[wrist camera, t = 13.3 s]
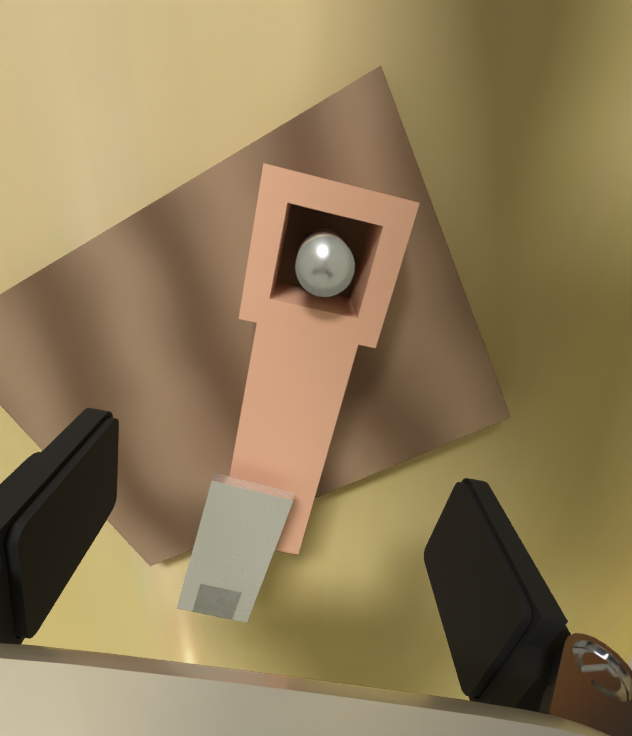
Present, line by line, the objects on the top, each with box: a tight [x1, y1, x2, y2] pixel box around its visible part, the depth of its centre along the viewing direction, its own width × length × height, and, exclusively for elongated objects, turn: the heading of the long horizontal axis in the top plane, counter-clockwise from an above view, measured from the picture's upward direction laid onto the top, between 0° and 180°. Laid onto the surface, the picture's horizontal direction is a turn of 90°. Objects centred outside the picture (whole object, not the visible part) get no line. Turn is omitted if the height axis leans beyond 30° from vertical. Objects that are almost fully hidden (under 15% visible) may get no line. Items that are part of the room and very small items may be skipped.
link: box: [230, 163, 420, 554], centre depth 18 cm, size 17×5×4 cm, turn 167°
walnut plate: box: [0, 66, 510, 566], centre depth 21 cm, size 23×17×2 cm
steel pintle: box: [295, 227, 355, 297], centre depth 16 cm, size 2×2×4 cm
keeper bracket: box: [177, 473, 294, 623], centre depth 21 cm, size 8×4×6 cm, turn 162°
